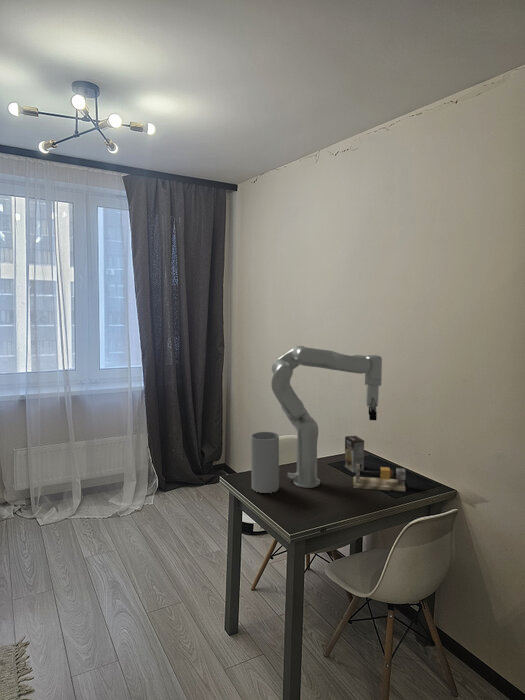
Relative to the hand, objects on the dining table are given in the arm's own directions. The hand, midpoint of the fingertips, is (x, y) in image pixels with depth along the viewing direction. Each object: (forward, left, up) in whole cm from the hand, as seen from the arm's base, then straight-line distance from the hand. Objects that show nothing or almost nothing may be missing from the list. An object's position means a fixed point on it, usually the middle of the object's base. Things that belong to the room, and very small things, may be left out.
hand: (372, 417), depth 217 cm
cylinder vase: (-48, -20, -31) cm, 60 cm away
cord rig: (+3, -7, -30) cm, 31 cm away
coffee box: (-8, +12, -31) cm, 34 cm away
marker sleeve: (+6, -7, -26) cm, 28 cm away
